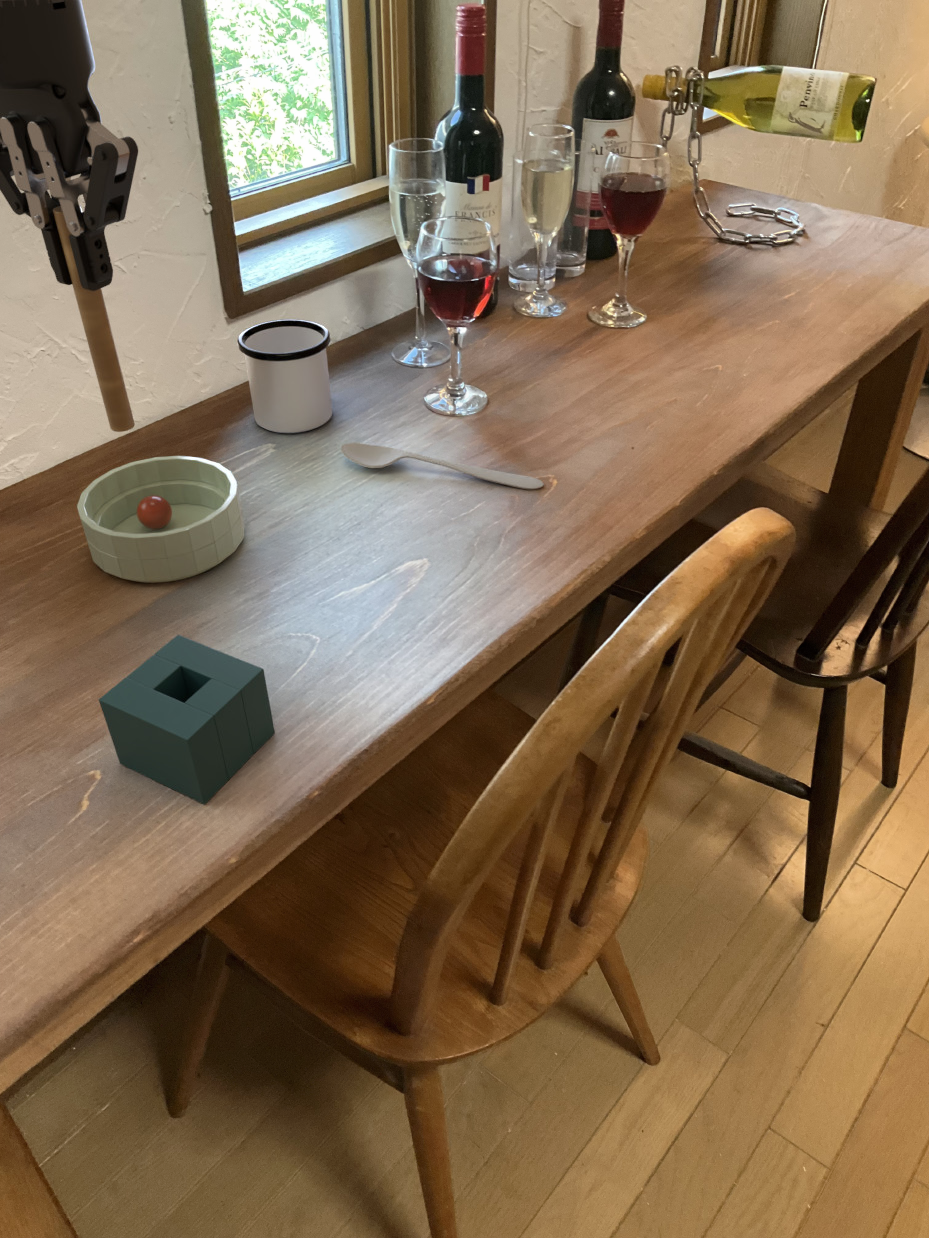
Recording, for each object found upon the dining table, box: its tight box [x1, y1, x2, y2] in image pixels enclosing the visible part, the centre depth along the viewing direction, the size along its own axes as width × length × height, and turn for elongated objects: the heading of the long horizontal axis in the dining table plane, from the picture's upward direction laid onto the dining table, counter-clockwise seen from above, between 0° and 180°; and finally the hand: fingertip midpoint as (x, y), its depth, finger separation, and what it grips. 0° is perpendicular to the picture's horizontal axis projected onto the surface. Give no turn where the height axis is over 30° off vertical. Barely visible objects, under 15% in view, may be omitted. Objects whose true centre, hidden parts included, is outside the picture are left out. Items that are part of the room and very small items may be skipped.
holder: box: [98, 634, 276, 805], centre depth 64 cm, size 7×7×6 cm
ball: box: [137, 495, 172, 529], centre depth 85 cm, size 3×3×3 cm
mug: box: [236, 318, 333, 434], centre depth 102 cm, size 12×10×9 cm
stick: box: [53, 206, 136, 433], centre depth 69 cm, size 2×2×16 cm
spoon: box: [340, 442, 544, 490], centre depth 94 cm, size 4×21×2 cm, turn 75°
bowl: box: [76, 455, 246, 583], centre depth 84 cm, size 13×13×5 cm
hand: (85, 283), depth 67 cm, fingers closed on stick, 2 cm apart
